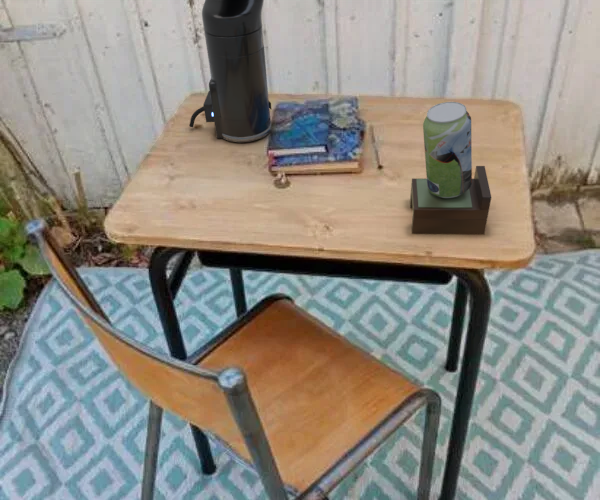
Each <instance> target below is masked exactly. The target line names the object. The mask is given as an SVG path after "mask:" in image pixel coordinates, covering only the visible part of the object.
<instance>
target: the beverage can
mask: <svg viewBox="0 0 600 500" xmlns="http://www.w3.org/2000/svg"><path fill="white" fill-rule="evenodd" d="M422 129H423V146H424V158H425V175H426V179H427V188H428V190H429V191H430V192H431V193H432V194H434V195H436V196H438V197H442V198H453V197H457V196H459V195H461V194H462V193H464V192H466V191H467V190H468V189H469V188H470V187H471V184H472V179H473V159H472V158H473V157H472V156H473V154H472V151H473V149H472V148H473V147H472V117H471V114H470V113H469V112H468V110H467V106H466V105H464V104H463V103H461V102H457V101H445V102H441V103H440V102H439V103H437V104H434V105H433V106H431V107H430V108H428V110H427V112H426V116H425V118H424V120H423V123H422Z"/></svg>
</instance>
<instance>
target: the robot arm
mask: <svg viewBox="0 0 600 500" xmlns="http://www.w3.org/2000/svg"><path fill="white" fill-rule="evenodd" d="M264 1H265V0H204V3H203V6H202V11H201V18H202V27H203V31H204V39H205V45H206V46H205V47H206V51H207V59H208V66H209V73H210V79H209V81H208V89H209V90H208V92H207V95H206V97H205V100H204V101H203V106H202V107H199V108H198V109H196V110H195V111H194V112H193V113H192V115H191V117H190V120H189V124H188V125H189V127H190V128H194V125H195V121H196V118H197V117H198V116H199V115H200V114H201V113H203V112H204V117H205V123H214V129H215V137H216V138H217V139H223V140H225V141H228V142H233V143H250V142H251V143H252V142H255V141H258V140H260V139H263V138H265V137H267V136H268V135H269V134H270V133H271V131H272V127H273V126H272V119H271V110H272V103H271V101H270V99H269V88H268V87H269V86H268V74H267V63H266V62H267V61H266V52H265V41H264V28H263V16H262V15H263V7H264Z"/></svg>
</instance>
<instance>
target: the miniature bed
mask: <svg viewBox="0 0 600 500" xmlns="http://www.w3.org/2000/svg"><path fill="white" fill-rule="evenodd" d="M488 179H489V178H488V175H487V170H486V166H485V165H476V166H475V171H474V177H473V178H472V184H471V187H470V188H469V189H468V190H467V191H466V192H464V193H462V194H461V195H459V196H457V197H453V198H442V197H438V196H436V195H434V194H432V193H431V192H430V191H429V190H428V188H427V178H411V185H410V194H409V195H410V196H409V208H410V209H412V216H411V234H412V235H485V232H486V227H487V223H488V218H489V211H490V207H491V201H492V193H491V188H490V183H489V180H488Z"/></svg>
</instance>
